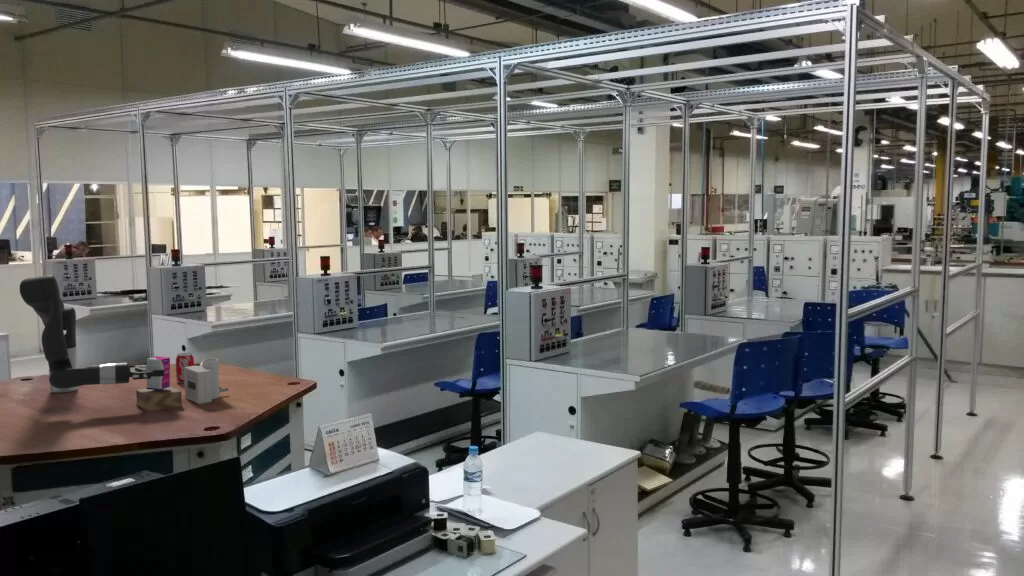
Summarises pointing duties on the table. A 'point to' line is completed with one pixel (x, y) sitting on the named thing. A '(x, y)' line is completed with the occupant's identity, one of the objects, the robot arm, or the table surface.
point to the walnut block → (159, 398)
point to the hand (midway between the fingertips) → (163, 370)
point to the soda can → (183, 365)
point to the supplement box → (159, 381)
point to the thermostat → (202, 382)
